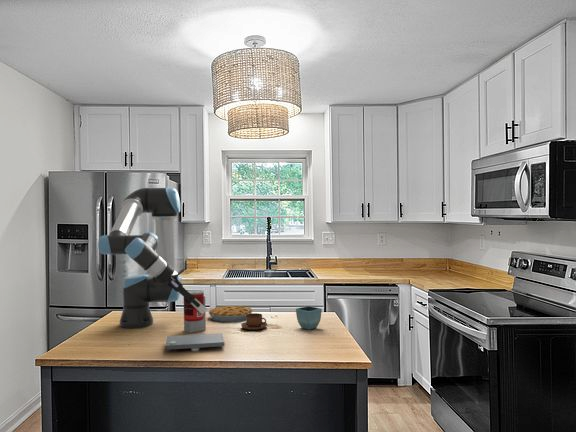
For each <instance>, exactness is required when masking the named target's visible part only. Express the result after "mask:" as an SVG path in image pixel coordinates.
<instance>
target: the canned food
mask: <svg viewBox="0 0 576 432" xmlns="http://www.w3.org/2000/svg"><path fill="white" fill-rule="evenodd" d="M187 291H188V292H189V293H190V294H191V295H192V296H194V297H195V298H196V299H197V300H198V301H199V302H200V303H201V304H202V305H204V296H205V293H204V290H202V289H190V290H189V289H188V290H187ZM188 303H189V301H188V300H187V299H186V298H185V297H183V320H184V319H185V321H200V320H202V319H203V318H204V313H203V314H202V313H200V312H199V311H198V310H197V309H196V308H195V307H194V306H193V305H192V304H190V305H189V304H188Z"/></svg>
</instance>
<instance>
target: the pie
mask: <svg viewBox="0 0 576 432" xmlns="http://www.w3.org/2000/svg"><path fill="white" fill-rule="evenodd" d="M251 313H253V309H252V308H251V307H246V306H244V305H243V306H241V305H223V306H222V305H221V306H220V307H219V306H215V308H211V309H210V310H209V311H208V315H210V318H211V320H212V321H215V322H223V323H224V322H225V323H232V322H235V323H237V322H241V321H246V315H247V314H251Z"/></svg>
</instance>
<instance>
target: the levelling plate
mask: <svg viewBox="0 0 576 432" xmlns="http://www.w3.org/2000/svg"><path fill="white" fill-rule="evenodd" d="M225 346H226V345H225V339H224V336H223V333H222V332H220V333H219V332H217V333H215V332H214V333H199V334H197V333H196V334H183V335H182V334H181V335H180V334H179V335H167V336H166V342H165V350H166V351H167V350H168V351H169V350H181V349H182V350H183V349H191V350H190V351H191V352H199V351H200V348H201V349H202V348H215V347H216V348H217V347H225Z"/></svg>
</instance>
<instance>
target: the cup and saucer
mask: <svg viewBox="0 0 576 432" xmlns="http://www.w3.org/2000/svg"><path fill="white" fill-rule="evenodd" d="M263 320H264V321H263ZM240 325H241V327H242V329H245V330H251V331H256V330H257V331H258V330H262V329H265V328H266V327H267V326H268V323H267V319H266V318H265V317H263V314H262V313H257V312H254V313H253V312H252V313H251V314H247V315H246V320H245V322H242V323H241V324H240Z"/></svg>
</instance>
